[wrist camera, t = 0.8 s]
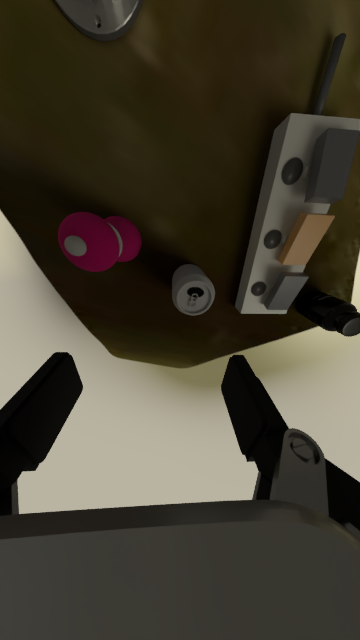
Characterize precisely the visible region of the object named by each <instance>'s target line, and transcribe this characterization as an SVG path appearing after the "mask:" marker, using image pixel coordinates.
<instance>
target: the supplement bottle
mask: <svg viewBox="0 0 360 640" xmlns="http://www.w3.org/2000/svg"><path fill="white" fill-rule="evenodd" d="M297 310H298V312H299V313H300V314H301V315H303V316H304V317H306V318H308V319H309V320H311V321H312V322H314V323H315V324H317V325H318V326H320V327H322V328H323V329H325V330H328V331H337V332H338V333H341V334H343V335H344V336H354V335H357V334H359V333H360V313H358V312H357V309H356V307H355V306H354V305H352V304H350V303H348V302H346V301H343V300H341V299H338V298H336V297H333V296H331V295H328V294H326V293H323V292H320V291H311V292H309V293H307V294H305V295H304V296H302V297H301V299H300V300H299V301H298V304H297Z"/></svg>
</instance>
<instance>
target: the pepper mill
mask: <svg viewBox="0 0 360 640" xmlns="http://www.w3.org/2000/svg"><path fill="white" fill-rule="evenodd" d="M58 240H59V244H60V247H61V249H62V251H63V253H64V254H65V256H66V257H67V258H68V259H69V260H70V261H71V262H72V263H73V264H75V265H76V266H78V267H79V268H81V269H84V270H87V271H91V272H98V271H104V270H107V269H108V268H110V267H111V266H113V265H114V264H115V263H116V261H118V262H126V261H130V260H132V259H134V258H135V257H136V256H137V254H138V253H139V251H140V248H141V245H142V238H141V235H140V232H139V230H138V229H137V228H136V227H135V225H134V224H133V223H132V222H131V221H129V220H128V219H126V218H124V217H121V216H110V217H108V218H105V219H102V218H101V217H99V216H97V215H95V214H92V213H88V212H77V213H73V214H71V215H69V216H67V217H66V218H65V219H64V220H63V221H62V223H61V224H60V227H59V231H58Z"/></svg>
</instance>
